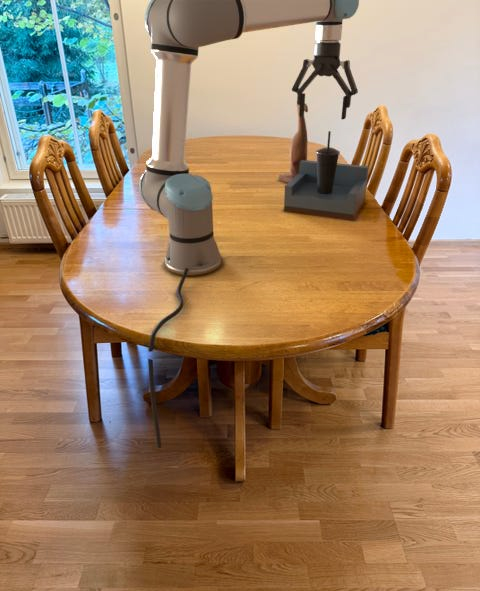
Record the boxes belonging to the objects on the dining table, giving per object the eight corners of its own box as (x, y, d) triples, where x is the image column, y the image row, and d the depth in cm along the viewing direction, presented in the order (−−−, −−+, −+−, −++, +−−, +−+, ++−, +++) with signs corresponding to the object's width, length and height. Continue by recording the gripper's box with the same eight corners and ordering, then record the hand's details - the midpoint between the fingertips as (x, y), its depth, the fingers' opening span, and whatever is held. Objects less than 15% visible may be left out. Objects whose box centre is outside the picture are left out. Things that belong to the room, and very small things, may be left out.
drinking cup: (336, 188, 170) (341, 129, 160) (335, 196, 163) (341, 134, 153) (314, 187, 171) (318, 128, 161) (312, 194, 164) (316, 133, 154)
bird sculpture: (297, 187, 191) (302, 100, 175) (277, 180, 199) (279, 96, 182) (317, 181, 197) (323, 96, 181) (296, 175, 205) (300, 93, 188)
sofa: (353, 220, 160) (357, 181, 153) (283, 211, 168) (285, 173, 162) (364, 202, 175) (368, 166, 168) (300, 194, 183) (302, 159, 177)
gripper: (373, 41, 143) (364, 117, 153) (291, 40, 151) (288, 112, 162) (368, 42, 137) (359, 122, 147) (283, 41, 145) (281, 116, 156)
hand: (322, 117), depth 155 cm, fingers open, 13 cm apart
